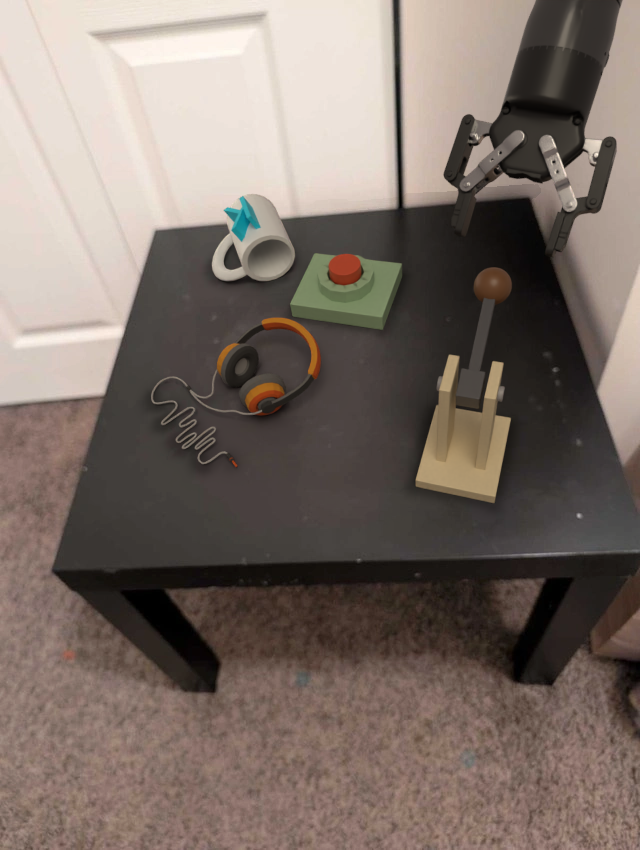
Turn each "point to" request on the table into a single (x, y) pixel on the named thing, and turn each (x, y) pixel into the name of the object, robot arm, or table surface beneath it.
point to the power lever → (482, 334)
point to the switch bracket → (465, 440)
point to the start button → (345, 269)
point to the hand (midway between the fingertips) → (503, 245)
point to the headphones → (250, 379)
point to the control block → (347, 293)
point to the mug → (254, 241)
